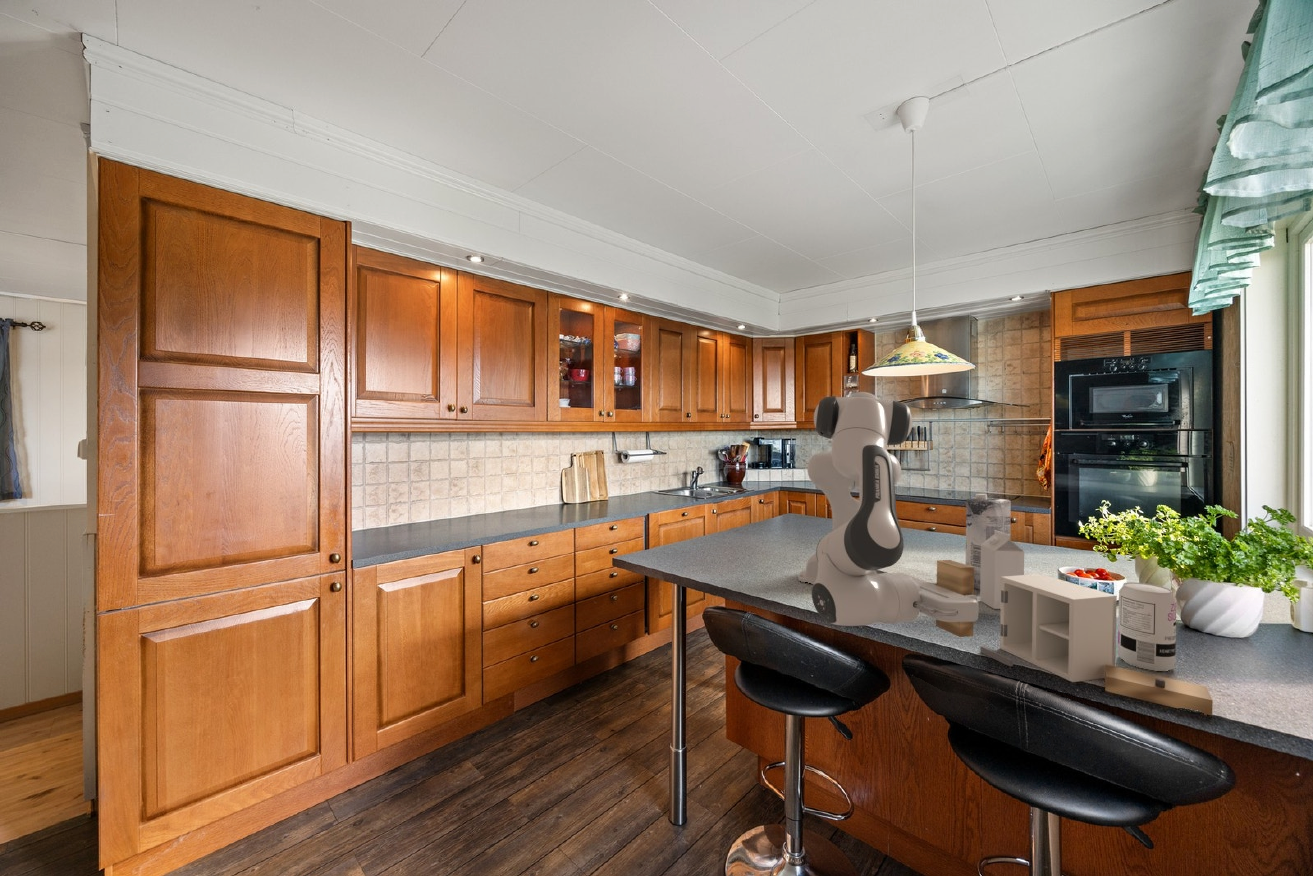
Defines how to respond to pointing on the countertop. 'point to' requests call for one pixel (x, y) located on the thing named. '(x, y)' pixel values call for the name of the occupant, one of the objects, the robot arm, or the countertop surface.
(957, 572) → the oak door
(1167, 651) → the supplement can
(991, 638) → the countertop surface
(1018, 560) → the milk carton
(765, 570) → the countertop surface
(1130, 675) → the door
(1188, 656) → the countertop surface
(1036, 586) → the carcass
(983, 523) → the juice carton
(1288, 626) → the countertop surface
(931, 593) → the robot arm
